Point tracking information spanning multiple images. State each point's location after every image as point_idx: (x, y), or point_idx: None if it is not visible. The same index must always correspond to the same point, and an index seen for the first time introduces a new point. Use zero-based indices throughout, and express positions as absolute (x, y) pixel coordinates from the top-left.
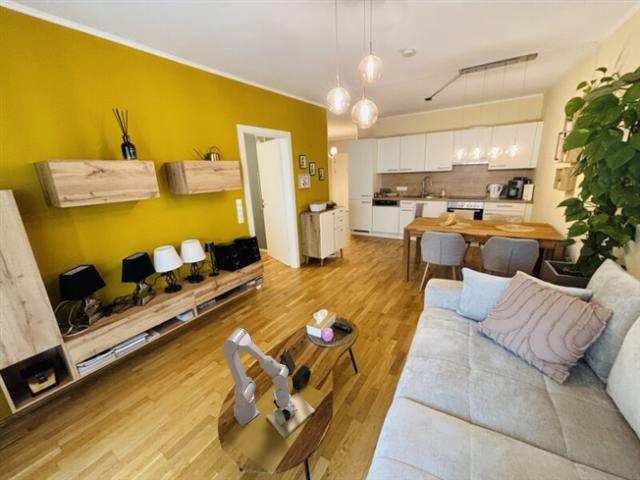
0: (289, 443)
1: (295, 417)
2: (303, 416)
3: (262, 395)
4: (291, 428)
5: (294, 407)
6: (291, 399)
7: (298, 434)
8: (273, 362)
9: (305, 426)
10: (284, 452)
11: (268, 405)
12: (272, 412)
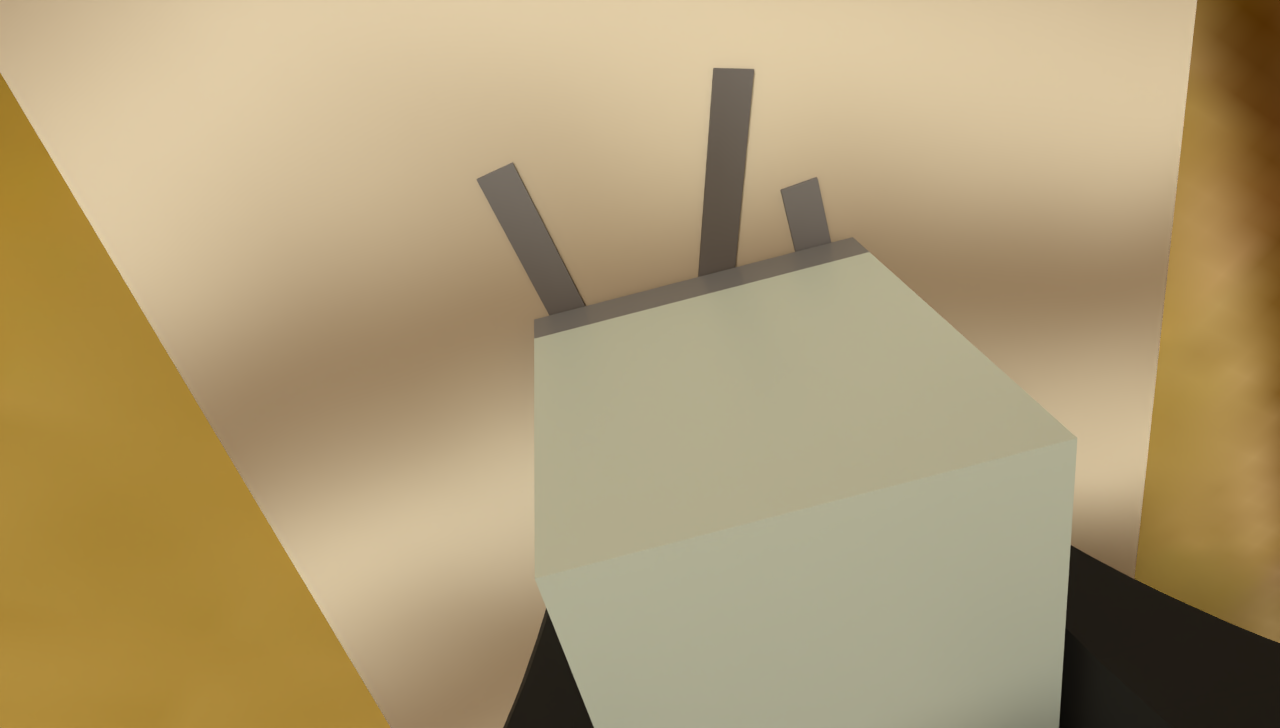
0: (1234, 538)
1: (933, 263)
2: (1101, 4)
3: None
4: (1108, 462)
5: (1027, 396)
6: (151, 97)
7: (1259, 327)
8: None
9: (1267, 74)
10: (1272, 639)
11: (113, 689)
12: (422, 712)
